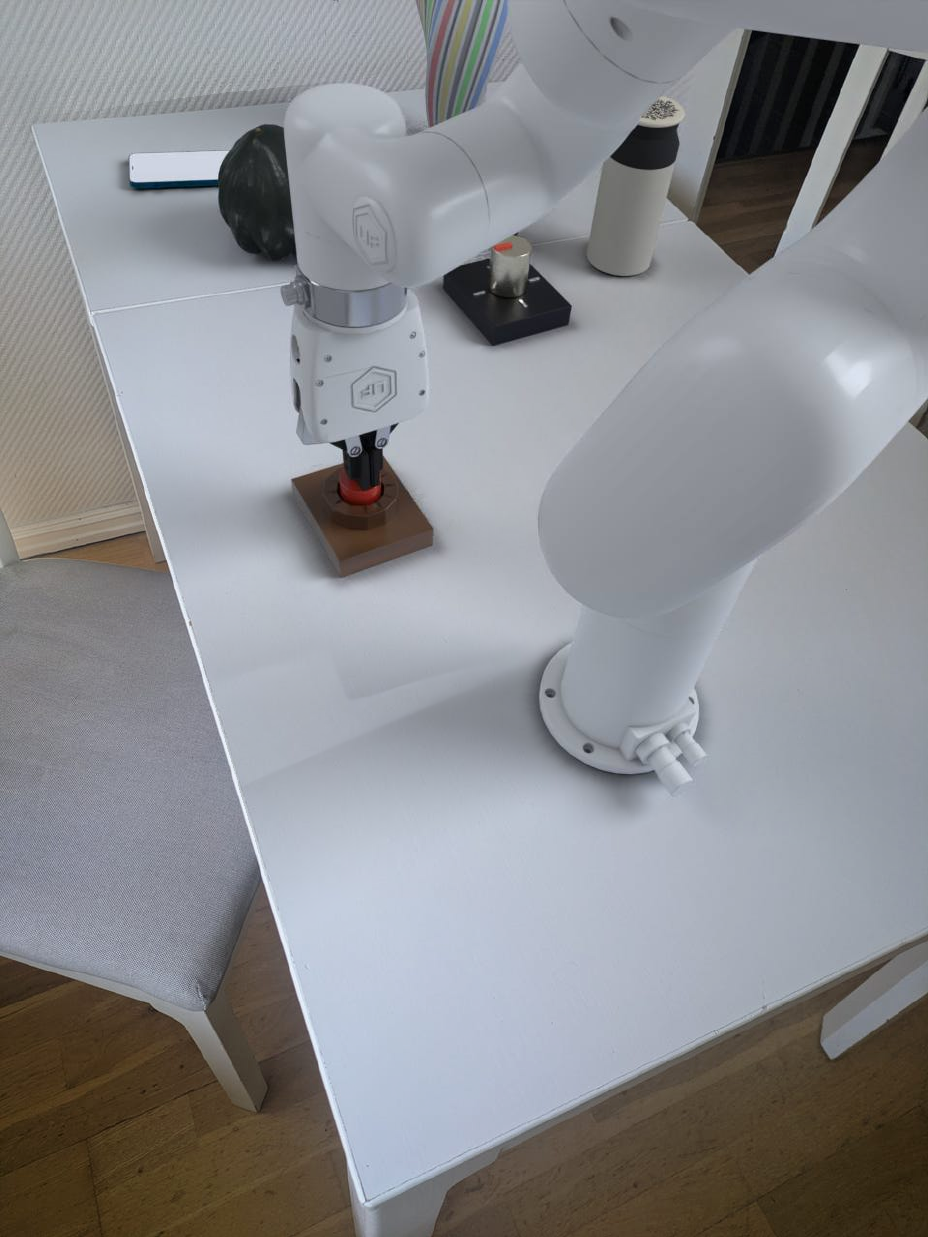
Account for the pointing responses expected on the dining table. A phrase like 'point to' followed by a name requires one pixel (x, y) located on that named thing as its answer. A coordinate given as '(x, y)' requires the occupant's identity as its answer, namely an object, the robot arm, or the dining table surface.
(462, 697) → the dining table surface
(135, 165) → the smartphone
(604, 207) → the travel mug
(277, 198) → the squash
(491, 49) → the vase
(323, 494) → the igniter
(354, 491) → the button
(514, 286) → the hob knob
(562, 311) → the hob panel
